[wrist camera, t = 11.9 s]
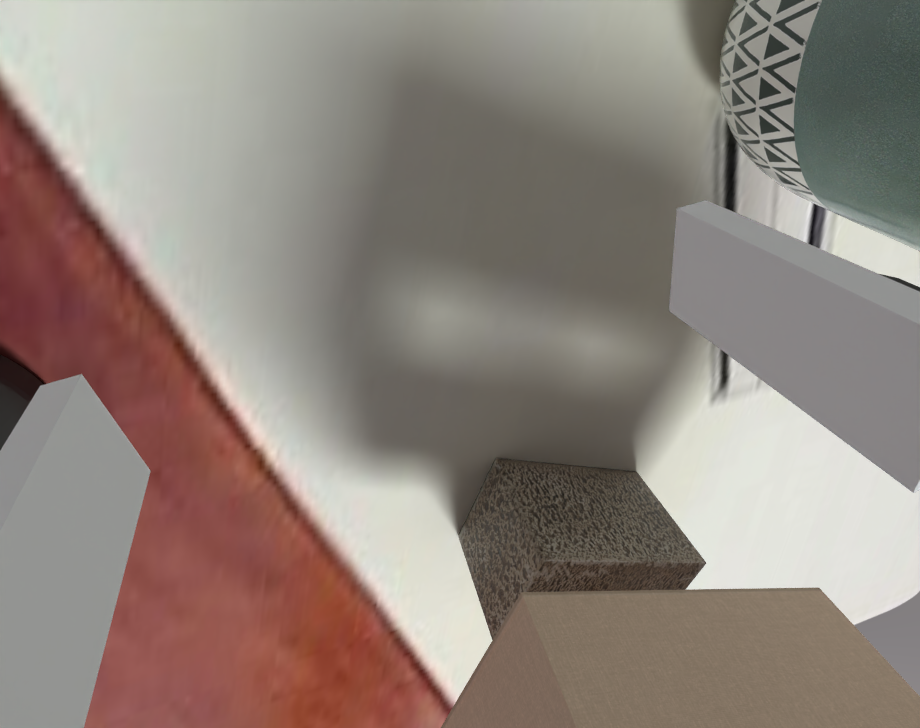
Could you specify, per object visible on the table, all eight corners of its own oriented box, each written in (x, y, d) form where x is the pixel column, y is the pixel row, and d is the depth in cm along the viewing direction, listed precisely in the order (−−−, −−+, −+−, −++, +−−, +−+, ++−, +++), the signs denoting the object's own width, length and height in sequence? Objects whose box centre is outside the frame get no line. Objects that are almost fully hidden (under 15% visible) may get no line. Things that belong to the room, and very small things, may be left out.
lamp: (395, 558, 56) (555, 1355, 23) (452, 422, 48) (824, 1337, 15) (618, 561, 68) (939, 1091, 34) (693, 451, 60) (1203, 1002, 27)
